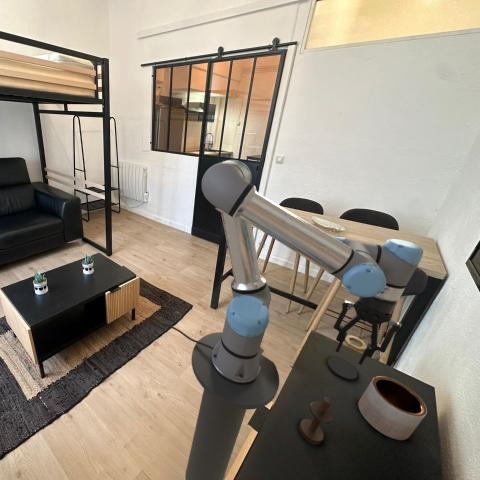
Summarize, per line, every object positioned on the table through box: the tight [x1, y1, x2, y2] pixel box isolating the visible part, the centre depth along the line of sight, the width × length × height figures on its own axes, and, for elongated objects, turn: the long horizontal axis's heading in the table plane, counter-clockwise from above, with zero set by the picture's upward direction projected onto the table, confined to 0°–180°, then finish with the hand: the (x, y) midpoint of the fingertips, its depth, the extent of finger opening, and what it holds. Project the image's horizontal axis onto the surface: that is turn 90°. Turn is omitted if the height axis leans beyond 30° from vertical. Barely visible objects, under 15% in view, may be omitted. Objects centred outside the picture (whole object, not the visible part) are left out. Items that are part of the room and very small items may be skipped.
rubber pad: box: [327, 356, 358, 381], centre depth 81 cm, size 8×8×1 cm
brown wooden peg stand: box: [298, 396, 334, 446], centre depth 60 cm, size 5×5×12 cm
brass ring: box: [343, 334, 368, 353], centre depth 77 cm, size 5×5×1 cm
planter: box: [358, 375, 428, 441], centre depth 65 cm, size 11×11×10 cm
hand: (349, 355), depth 79 cm, fingers closed on brass ring, 5 cm apart
